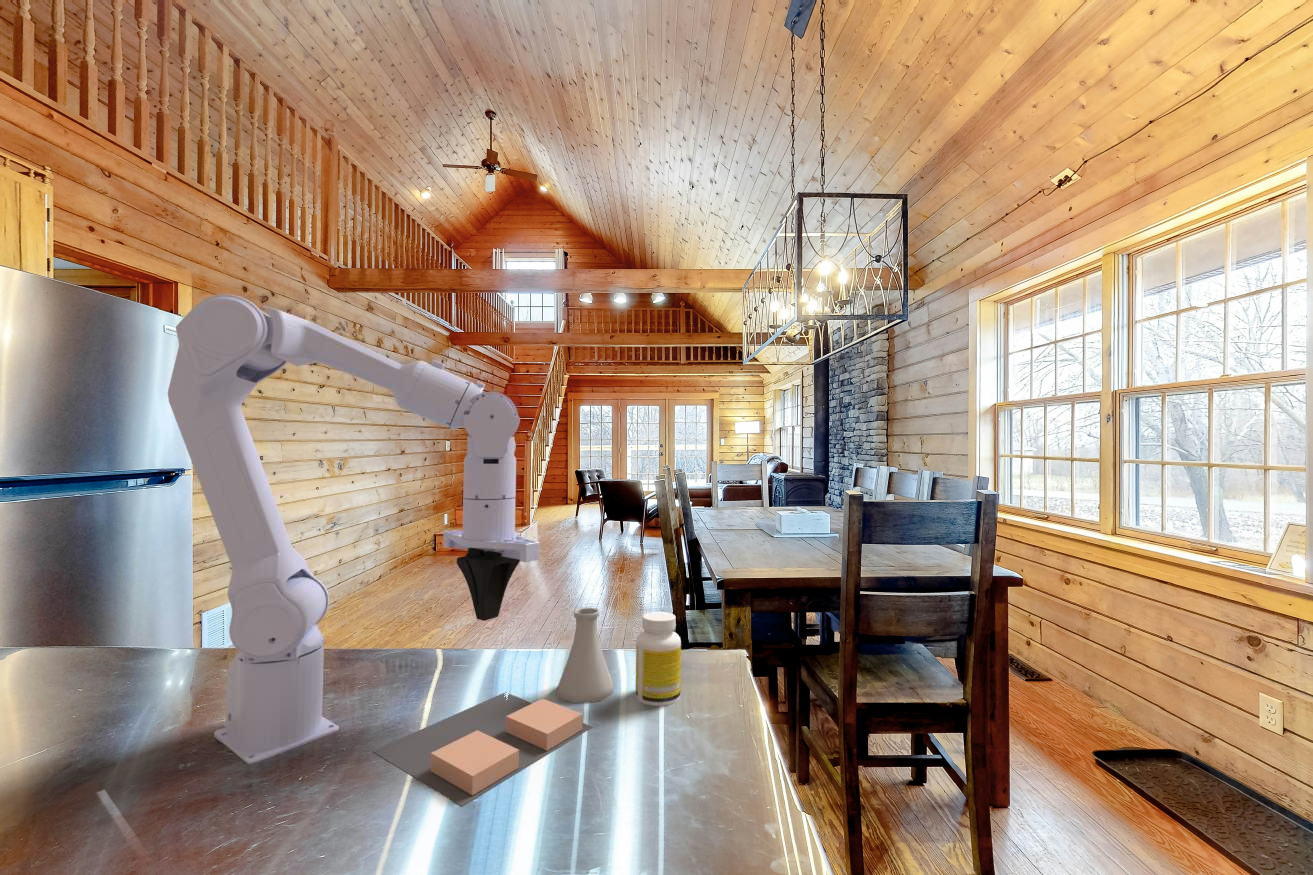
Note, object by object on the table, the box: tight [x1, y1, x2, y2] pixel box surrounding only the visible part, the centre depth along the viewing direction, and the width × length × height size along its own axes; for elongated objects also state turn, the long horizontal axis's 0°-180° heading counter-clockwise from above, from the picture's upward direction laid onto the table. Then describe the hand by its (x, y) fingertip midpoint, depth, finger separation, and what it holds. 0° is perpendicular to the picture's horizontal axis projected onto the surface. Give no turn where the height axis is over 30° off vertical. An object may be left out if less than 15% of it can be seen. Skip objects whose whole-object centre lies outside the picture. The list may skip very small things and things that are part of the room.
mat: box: [372, 691, 594, 807], centre depth 55 cm, size 14×16×1 cm
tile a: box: [431, 730, 519, 795], centre depth 50 cm, size 2×5×6 cm
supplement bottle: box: [635, 611, 682, 707], centre depth 66 cm, size 5×5×10 cm
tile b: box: [506, 698, 584, 751], centre depth 57 cm, size 2×5×6 cm
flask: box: [556, 606, 615, 704], centre depth 67 cm, size 7×7×10 cm
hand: (487, 617), depth 62 cm, fingers closed
